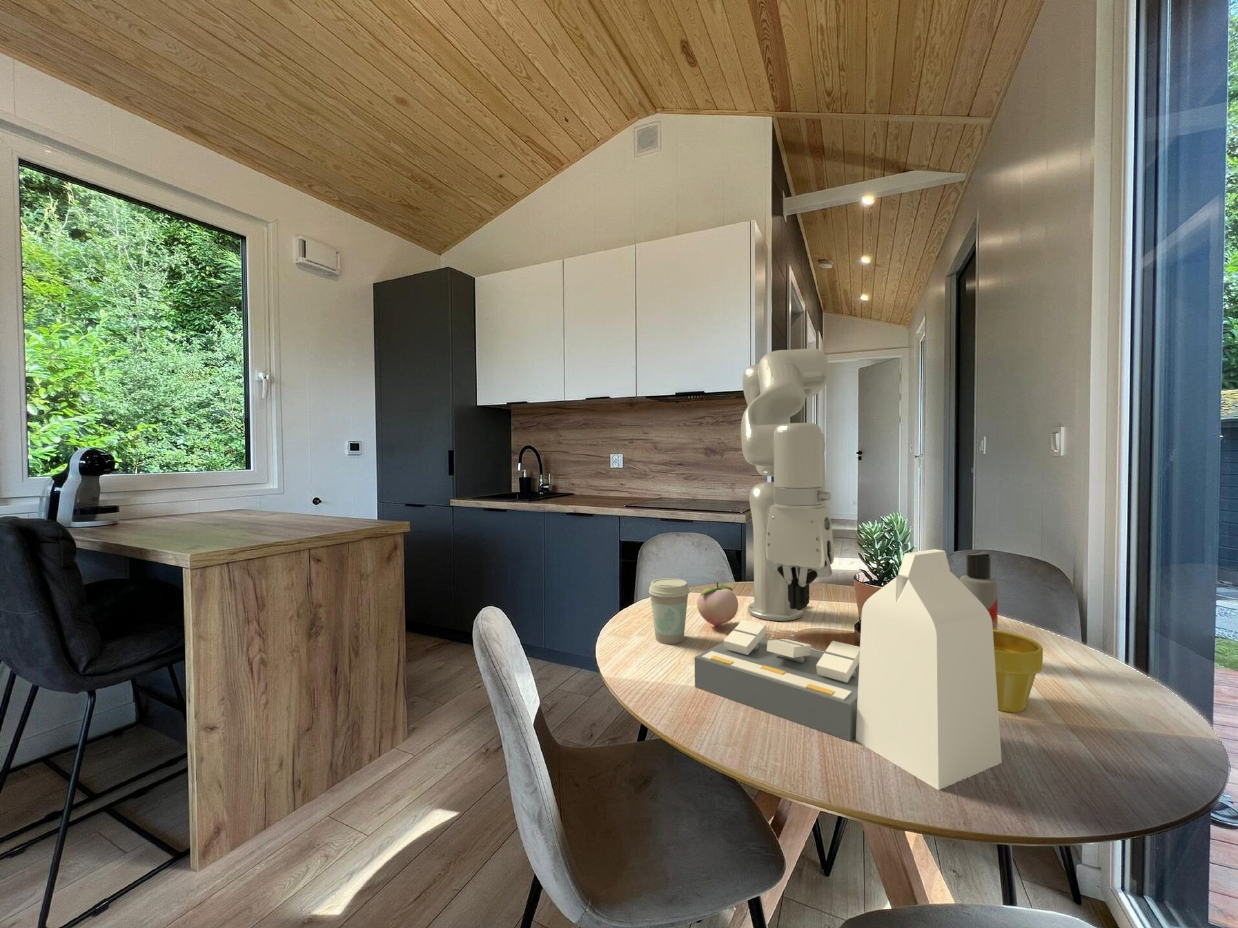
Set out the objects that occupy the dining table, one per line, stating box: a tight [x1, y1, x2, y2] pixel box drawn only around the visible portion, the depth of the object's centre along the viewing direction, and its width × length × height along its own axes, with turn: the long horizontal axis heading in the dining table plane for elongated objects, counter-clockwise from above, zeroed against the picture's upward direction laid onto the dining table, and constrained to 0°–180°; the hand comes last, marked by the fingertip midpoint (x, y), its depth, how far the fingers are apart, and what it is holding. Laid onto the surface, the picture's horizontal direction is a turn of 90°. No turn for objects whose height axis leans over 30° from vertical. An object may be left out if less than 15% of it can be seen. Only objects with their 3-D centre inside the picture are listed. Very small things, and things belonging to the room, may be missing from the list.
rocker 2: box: [767, 638, 812, 658], centre depth 85 cm, size 7×4×2 cm, turn 137°
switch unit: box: [694, 636, 859, 742], centre depth 84 cm, size 16×25×6 cm, turn 47°
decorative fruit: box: [696, 581, 739, 628], centre depth 116 cm, size 9×8×10 cm
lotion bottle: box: [959, 551, 999, 630], centre depth 96 cm, size 6×6×20 cm
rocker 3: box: [816, 640, 860, 682], centre depth 79 cm, size 7×4×2 cm, turn 138°
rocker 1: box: [722, 619, 767, 655], centre depth 90 cm, size 7×4×2 cm, turn 138°
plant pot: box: [993, 629, 1044, 713], centre depth 80 cm, size 10×10×10 cm
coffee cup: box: [648, 577, 691, 645], centre depth 109 cm, size 8×9×12 cm
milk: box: [855, 548, 1003, 791], centre depth 67 cm, size 12×12×26 cm
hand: (798, 607), depth 86 cm, fingers closed
